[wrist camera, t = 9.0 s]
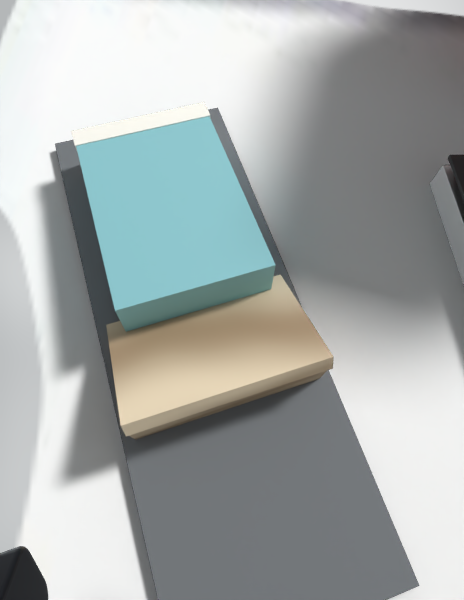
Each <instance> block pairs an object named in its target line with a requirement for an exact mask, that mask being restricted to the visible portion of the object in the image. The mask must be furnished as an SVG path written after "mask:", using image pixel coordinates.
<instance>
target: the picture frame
mask: <svg viewBox="0 0 464 600" xmlns="http://www.w3.org/2000/svg"><path fill="white" fill-rule="evenodd" d="M448 160H449V163H450V165H443V166H442V167H441V168H440V170H439V171H438V173H437V174H436V176H435V177H434V178H433V180H432V181H431V183H430V187H431V190H432V193H433V196H434V199H435V202H436V205H437V208H438V210H439V213H440V216H441V219H442V222H443V225H444V228H445V231H446V234H447V237H448V240H449V243H450V246H451V249H452V252H453V255H454V258H455V261H456V264H457V267H458V270H459V273H460V276H461V279H462V282H463V285H464V155H450V156H449V157H448Z"/></svg>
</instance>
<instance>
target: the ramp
mask: <svg viewBox="0 0 464 600" xmlns="http://www.w3.org/2000/svg"><path fill="white" fill-rule="evenodd" d="M106 327H107V334H108V341H109V348H110V355H111V362H112V369H113V376H114V383H115V390H116V397H117V404H118V411H119V418H120V425H121V428H122V430H123V432H124V434H125V435H126V436H130V437H132V438H133V439H135V440H136V439H139V438H142V437H145V436H148V435H151V434H154V433H157V432H160V431H163V430H166V429H169V428H172V427H175V426H178V425H181V424H184V423H187V422H190V421H193V420H196V419H199V418H202V417H205V416H208V415H211V414H214V413H217V412H220V411H223V410H226V409H229V408H232V407H235V406H238V405H241V404H244V403H247V402H250V401H253V400H256V399H260V398H263V397H266V396H269V395H272V394H275V393H278V392H281V391H284V390H287V389H290V388H293V387H296V386H299V385H302V384H305V383H308V382H311V381H314V380H317V379H320V378H321V377H322V376H323V375H324V373H325V372H326V371H327V370H330V369H333V355H332V354H331V352H330V351H329V349H328V347H327V346H326V344H325V343H324V341H323V340H322V338H321V337H320V335H319V333H318V332H317V330H316V329H315V327H314V326H313V324H312V323H311V321H310V320H309V318H308V316H307V315H306V313H305V312H304V310H303V309H302V307H301V306H300V304H299V302H298V301H297V299H296V298H295V296H294V295H293V293H292V292H291V290H290V288H289V287H288V285H287V284H286V282H285V281H284V279H283V278H282V276H281V275H277V276H274V277H273V282H272V288H271V289H270V290H267V291H263V292H260V293H256V294H253V295H250V296H246V297H243V298H239V299H236V300H233V301H229V302H226V303H222V304H219V305H215V306H212V307H209V308H205V309H202V310H198V311H195V312H192V313H188V314H185V315H181V316H178V317H175V318H171V319H168V320H164V321H161V322H157V323H154V324H151V325H147V326H144V327H140V328H137V329H134V330H130V331H127V332H126V331H125V329H124V327H123V325H122V323H121V321H118V322H114V323H111V324H107V325H106Z"/></svg>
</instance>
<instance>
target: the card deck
mask: <svg viewBox="0 0 464 600" xmlns="http://www.w3.org/2000/svg"><path fill="white" fill-rule="evenodd" d="M71 132H72V136H73V140H74V145H75V147H76V150H77V152H78V156H79V160H80V165H81V169H82V173H83V177H84V182H85V186H86V190H87V194H88V198H89V203H90V207H91V211H92V215H93V220H94V224H95V228H96V232H97V237H98V241H99V245H100V249H101V254H102V258H103V262H104V266H105V270H106V275H107V279H108V283H109V287H110V292H111V296H112V300H113V304H114V309H115V312H116V314H117V316H118V317H119V319H120V321H121V323H122V325H123V327H124V329H125V331H126V332H127V331H130V330H134V329H137V328H140V327H144V326H147V325H151V324H154V323H157V322H161V321H164V320H168V319H171V318H175V317H178V316H181V315H185V314H188V313H192V312H195V311H198V310H202V309H205V308H209V307H212V306H215V305H219V304H222V303H226V302H229V301H233V300H236V299H239V298H243V297H246V296H250V295H253V294H256V293H260V292H263V291H267V290H270V289H271V288H272V282H273V277H274V271H275V263H274V260H273V258H272V256H271V254H270V251H269V249H268V247H267V245H266V242H265V240H264V238H263V236H262V233H261V231H260V229H259V227H258V224H257V222H256V220H255V218H254V215H253V213H252V211H251V209H250V206H249V204H248V202H247V200H246V197H245V195H244V193H243V191H242V188H241V186H240V184H239V182H238V179H237V177H236V175H235V173H234V170H233V168H232V166H231V164H230V161H229V159H228V157H227V155H226V152H225V150H224V148H223V146H222V143H221V141H220V139H219V137H218V134H217V132H216V130H215V128H214V125H213V123H212V121H211V119H210V113H209V111H208V109H207V107H206V104H205V102H201V103H197V104H192V105H188V106H183V107H179V108H174V109H169V110H165V111H160V112H156V113H151V114H147V115H142V116H137V117H133V118H128V119H124V120H119V121H115V122H110V123H105V124H101V125H96V126H92V127H87V128H83V129H78V130H73V131H71Z"/></svg>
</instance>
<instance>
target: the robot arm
mask: <svg viewBox="0 0 464 600" xmlns="http://www.w3.org/2000/svg"><path fill="white" fill-rule="evenodd" d="M0 600H48V590H47V585H46V582H45V579H44V577H43V576H42V574H41V572H40V570H39V568H38V566H37V565H36V563H35V561H34V559H33V557H32V555H31V554H30V552H29V550H28V549H27V548H26V547H23V546H20V547H17V548H14V549H11V550H8V551H5V552H3V553H0Z"/></svg>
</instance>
